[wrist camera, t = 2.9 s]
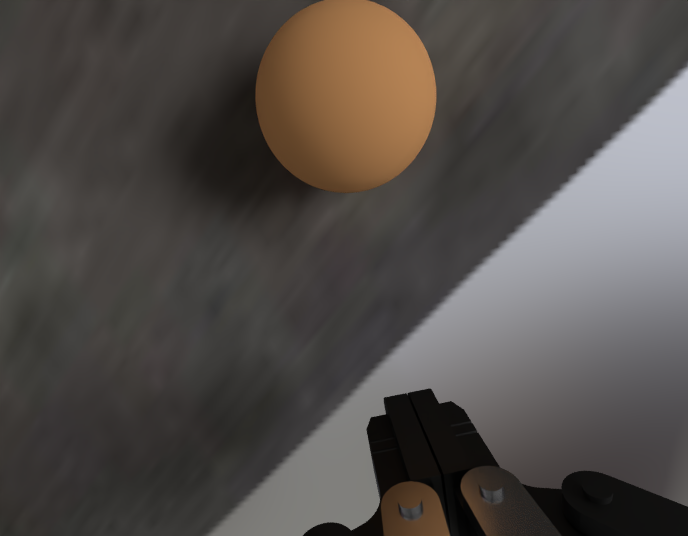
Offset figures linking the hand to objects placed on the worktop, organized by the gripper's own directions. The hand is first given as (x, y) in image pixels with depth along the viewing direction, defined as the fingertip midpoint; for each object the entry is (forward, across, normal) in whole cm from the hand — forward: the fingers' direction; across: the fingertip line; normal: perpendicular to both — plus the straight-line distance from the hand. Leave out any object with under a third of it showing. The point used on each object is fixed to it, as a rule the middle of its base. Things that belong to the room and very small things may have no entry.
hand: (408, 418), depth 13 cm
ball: (+3, 0, -10) cm, 10 cm away
